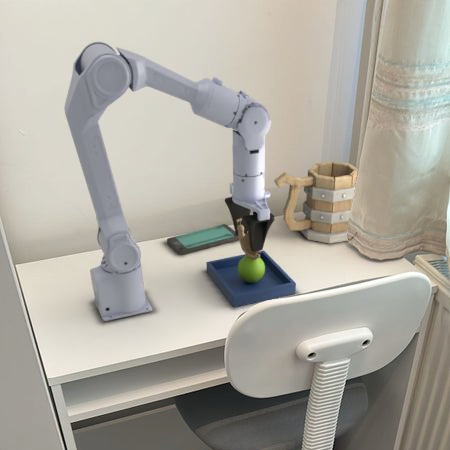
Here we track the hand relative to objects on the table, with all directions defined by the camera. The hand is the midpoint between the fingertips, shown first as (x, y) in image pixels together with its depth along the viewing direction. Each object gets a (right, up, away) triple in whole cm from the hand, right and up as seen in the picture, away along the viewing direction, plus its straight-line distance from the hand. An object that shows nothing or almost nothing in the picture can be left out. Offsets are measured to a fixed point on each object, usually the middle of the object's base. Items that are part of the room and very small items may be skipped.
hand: (249, 242), depth 122 cm
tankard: (+16, +7, +22) cm, 28 cm away
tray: (0, -7, +6) cm, 9 cm away
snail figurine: (0, -6, +5) cm, 8 cm away
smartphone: (-9, +5, +21) cm, 23 cm away
